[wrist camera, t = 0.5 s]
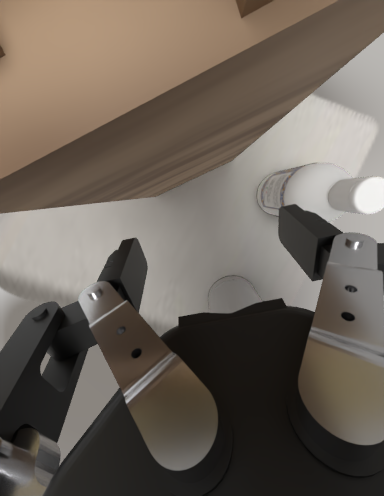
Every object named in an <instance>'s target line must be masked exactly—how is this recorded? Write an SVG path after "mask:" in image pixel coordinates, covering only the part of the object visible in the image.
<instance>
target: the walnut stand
mask: <svg viewBox="0 0 384 496" xmlns="http://www.w3.org/2000/svg"><path fill="white" fill-rule="evenodd" d="M383 32H384V0H0V213H9V212H18V211H28V210H37V209H46V208H55V207H64V206H74V205H83V204H92V203H101V202H110V201H120V200H129V199H138V198H147V197H156V196H158V195H160V194H162V193H164V192H166V191H168V190H170V189H173V188H175V187H177V186H179V185H181V184H183V183H185V182H187V181H190V180H192V179H194V178H196V177H198V176H200V175H202V174H204V173H207V172H209V171H211V170H213V169H215V168H217V167H219V166H222V165H224V164H226V163H228V162H230V161H232V160H233V159H234V158H236V157H237V156H238V155H239V154H240V153H241V152H243V151H244V150H245V149H246V148H247V147H249V146H250V145H251V144H252V143H253V142H255V141H256V140H257V139H258V138H259V137H260V136H262V135H263V134H264V133H265V132H266V131H268V130H269V129H270V128H271V127H272V126H273V125H275V124H276V123H277V122H278V121H279V120H281V119H282V118H283V117H284V116H285V115H286V114H288V113H289V112H290V111H291V110H292V109H294V108H295V107H296V106H297V105H298V104H299V103H301V102H302V101H303V100H304V99H305V98H307V97H308V96H309V95H310V94H311V93H312V92H314V91H315V90H316V89H317V88H318V87H320V86H321V85H322V84H323V83H324V82H325V81H326V80H328V79H329V78H330V77H331V76H333V75H334V74H335V73H336V72H337V71H339V70H340V68H342V67H343V66H344V65H346V64H347V63H348V62H349V61H350V60H351V59H353V58H354V57H355V56H356V55H357V54H359V53H360V52H361V51H362V50H363V49H365V48H366V47H367V46H368V45H369V44H370V43H372V42H373V41H374V40H375V39H376V38H378V37H379V36H380V35H381V34H382V33H383Z"/></svg>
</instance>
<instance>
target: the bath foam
mask: <svg viewBox="0 0 384 496" xmlns="http://www.w3.org/2000/svg"><path fill="white" fill-rule="evenodd" d="M257 200H258V203H259V205H260V207H261V208H262V209H263V210H264V211H265V212H267V213H269V214H272V215H275V216H278V217H279V208H280V207H282V206H287V205H292V204H296V205H298V206H299V207H300V208H302V209H303V210H304V211H306V210H307V211H310V212H313V213H316V214H318V215H319V216H320V217H322V219H325V220H326V221H327V222H330V221H333V220H335V219H337V218H339V217H340V216H342V215H343V214H344V213H345V212H352V213H359V214H373V213H376V212H379V211H380V210H382V209H383V208H384V178H382V177H377V176H374V177H361V178H352V176H351V175H350V174H349V173H348V172H347V171H346V170H345V169H343V168H342V167H340V166H338V165H335V164H331V163H312V164H308V165H304V166H300V167H295V168H291V169H287V170H283V171H279V172H276V173H273V174H270V175H269V176H267V177H266V178H265V179H264V180H263V181H262V182H261V184H260V186H259V188H258V191H257Z"/></svg>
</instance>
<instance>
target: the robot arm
mask: <svg viewBox="0 0 384 496" xmlns="http://www.w3.org/2000/svg"><path fill="white" fill-rule="evenodd" d="M278 233H279V239H280V241H281V243H282V244H283V246H284V247H285V248H286V249H287V251H288V252H289V253H290V254H291V256H292V257H293V258H294V259H295V261H296V262H297V263H298V264H299V265H300V267H301V268H302V269H303V270H304V272H305V273H306V274H307V275H308V277H309V278H310V279H311V280H312V281H316V280H321V279H323V282H322V286H321V290H320V295H319V298H318V302H317V307H316V310H315V312H313V311H310V310H307V309H303V308H298V307H292V306H286V305H285V303H284V301H283V299H282V298H280V299H275V300H269V301H264V302H262V300H261V299H260V297H259V295H258V294H257V292H256V290H255V289H254V287H253V286H252V284H251V283H250V282H249V281H248V280H246V279H244V278H242V277H238V276H228V277H224V278H222V279H220V280H218V281H217V282H216V283H214V285H213V286H212V287H211V289H210V291H209V295H208V304H209V313H198V314H193V315H187V316H182V317H179V325H178V326H176V327H174V328H172V329H170V330H169V331H167V332H166V333H164V334H163V335H162V336H161V337H159V336H158V335H157V334H156V333H155V332H154V330H153V329H152V328H151V327H150V326H149V325H148V324H147V322H146V321H145V320H144V319H143V318H142V317H141V316H140V314H139V309H140V304H141V299H142V294H143V289H144V284H145V279H146V274H147V261H146V258H145V256H144V253H143V251H142V248H141V246H140V243H139V241H138V239H137V238H131V239H126V240H123V241H122V242H121V245H120V247H119V249H118V250H115V251H114V252H113V253H112V254H111V255H110V256H109V258H108V260H107V262H106V264H105V266H104V269H103V270H102V272H101V274H100V276H99V278H98V280H97V282H96V283H94V284H91V285H90V286H88V287H87V288H85V289H84V290H83V291H82V292H81V294H80V295H79V297H78V301H77V302H75V303H72V304H70V305H68V306H65V307H63V308H61V307H60V306H59V305H58V304H57V303H56V302H47V303H44V304H42V305H40V306H38V307H36V308H35V309H33V310H32V311H31V312H29V313H28V314H27V315H26V316H25V318H24V319H23V321H22V322H21V323H20V325H19V326H18V328H17V329H16V331H15V332H14V333H13V335H12V336H11V337H10V339H9V340H8V342H7V343H6V345H5V346H4V348H3V349H2V350H1V352H0V496H384V243H377V242H376V240H374V239H373V238H371V237H370V236H367V235H364V234H360V233H343V232H341V231H340V230H338V229H337V228H336V227H334V226H333V225H332V224H330V223H328V222H327V221H326V220H325V219H322V217H320V216H319V215H318V214H316V213H313V212H310V211H307V210H306V211H304V210H303V209H302V208H300V207H299V206H298V205H296V204H292V205H287V206H282V207H280V208H279V227H278ZM96 344H98V345H99V347H100V349H101V351H102V352H103V355H104V357H105V359H106V361H107V363H108V365H109V367H110V369H111V370H112V373H113V375H114V377H115V379H116V381H117V383H118V385H119V387H120V388H119V389H118V391H117V392H116V393H115V394H114V396H113V397H112V398H111V400H110V401H109V402H108V404H107V405H106V406H105V407H104V409H103V410H102V411H101V413H100V414H99V415H98V416H97V418H96V419H95V420H94V422H93V423H92V425H90V427H89V428H88V429H87V431H86V432H85V433H84V435H83V436H82V437H81V438H80V440H79V441H78V442H77V444H76V445H75V446H74V448H73V449H72V450H71V451H70V453H69V454H68V455H67V457H66V458H65V459H64V460H63V462H62V463H61V465H60V466H59V462H60V448H59V446H58V444H57V442H58V439H59V436H60V433H61V430H62V427H63V424H64V421H65V417H66V415H67V412H68V409H69V406H70V403H71V400H72V396H73V393H74V391H75V387H76V384H77V382H78V379H79V375H80V372H81V369H82V366H83V363H84V360H85V357H86V354H87V351H88V348H90V347H92V346H94V345H96ZM46 352H47V353H48V354H49V355H50V356H51V357H50V359H49V362H48V364H47V366H46V368H45V370H44V372H43V374H42V376H41V373H40V365H41V362H42V360H43V358H44V356H45V354H46Z"/></svg>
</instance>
